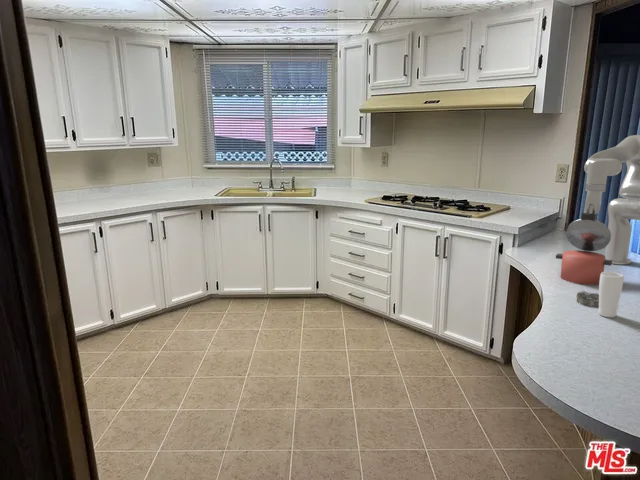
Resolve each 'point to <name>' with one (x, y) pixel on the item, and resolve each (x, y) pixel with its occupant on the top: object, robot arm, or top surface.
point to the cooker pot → (582, 266)
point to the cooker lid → (588, 233)
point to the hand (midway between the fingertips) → (590, 228)
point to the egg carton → (588, 298)
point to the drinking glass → (609, 293)
